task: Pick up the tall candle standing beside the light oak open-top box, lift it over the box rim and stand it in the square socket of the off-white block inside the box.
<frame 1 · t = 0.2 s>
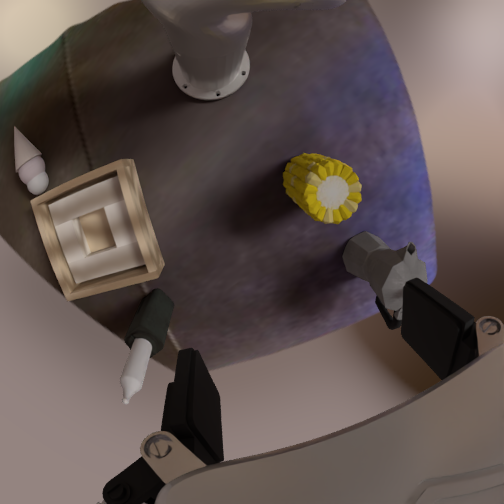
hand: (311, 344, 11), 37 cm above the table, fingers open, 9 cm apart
food: (305, 181, 46), on the table
ice cream cone: (36, 158, 38), on the table
coffeepot: (361, 258, 52), on the table
box: (101, 228, 44), on the table
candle: (158, 302, 49), on the table
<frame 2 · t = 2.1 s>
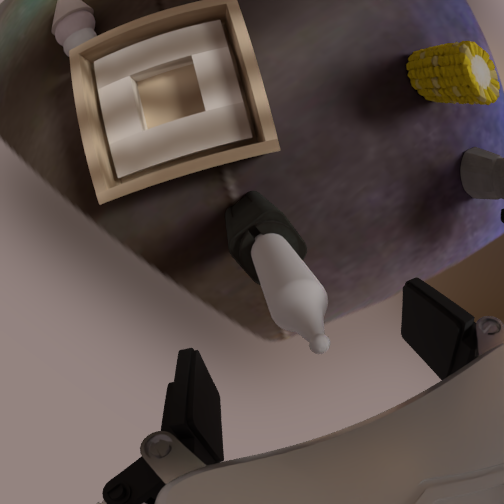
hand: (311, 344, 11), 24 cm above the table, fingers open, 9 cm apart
food: (424, 80, 29), on the table
ice cream cone: (80, 26, 22), on the table
coffeepot: (472, 178, 35), on the table
box: (171, 98, 28), on the table
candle: (250, 216, 34), on the table
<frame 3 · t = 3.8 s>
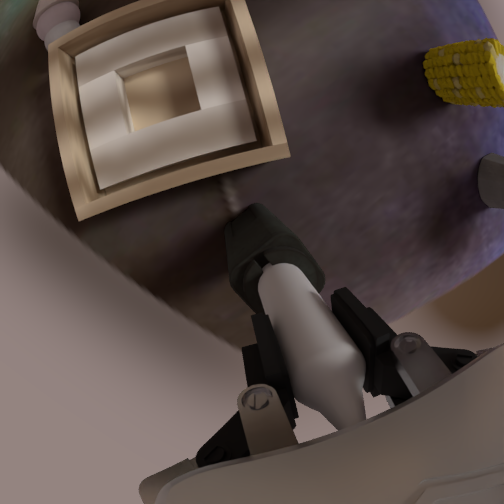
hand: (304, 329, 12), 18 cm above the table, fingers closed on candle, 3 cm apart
food: (441, 80, 26), on the table
ice cream cone: (65, 19, 18), on the table
coffeepot: (489, 186, 31), on the table
box: (162, 96, 24), on the table
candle: (253, 231, 29), on the table, touching gripper
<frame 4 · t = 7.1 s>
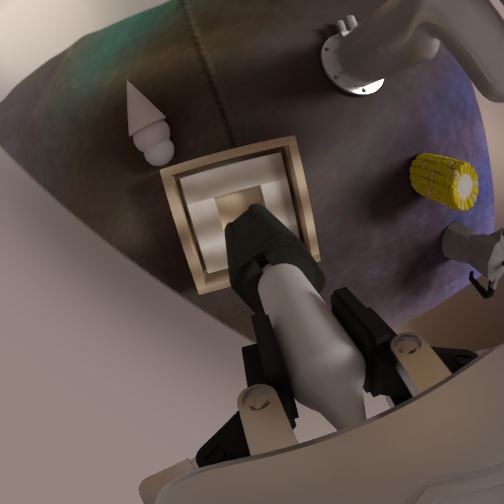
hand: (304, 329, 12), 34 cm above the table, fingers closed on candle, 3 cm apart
food: (421, 176, 46), on the table
ice cream cone: (149, 124, 38), on the table
coffeepot: (452, 244, 52), on the table
box: (241, 210, 44), on the table
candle: (253, 232, 29), point 15 cm above the table, touching gripper
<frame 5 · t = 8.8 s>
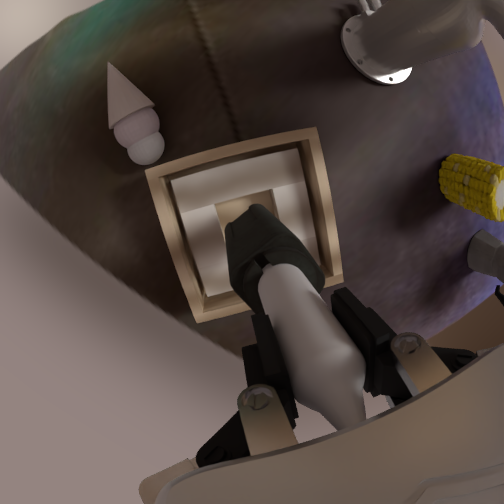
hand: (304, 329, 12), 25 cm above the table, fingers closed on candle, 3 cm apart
food: (450, 180, 38), on the table
ice cream cone: (135, 115, 30), on the table
coffeepot: (476, 254, 44), on the table
box: (247, 218, 36), on the table
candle: (253, 232, 29), point 7 cm above the table, touching gripper
when the fingers open (20 cm above the table, at t = 10.3 s): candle drops 1 cm, resting on box.
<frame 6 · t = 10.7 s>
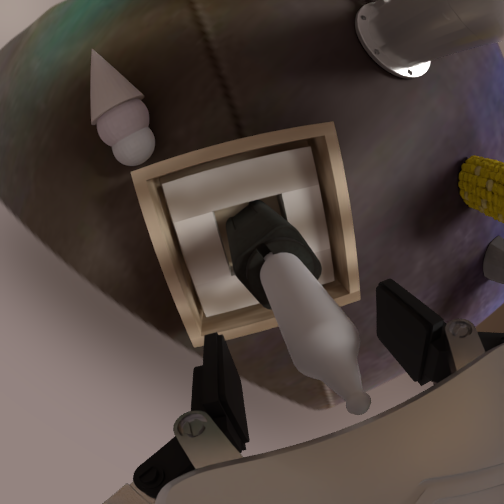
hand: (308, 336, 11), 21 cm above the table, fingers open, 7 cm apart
food: (469, 184, 33), on the table
ice cream cone: (123, 108, 25), on the table
coffeepot: (492, 262, 39), on the table
box: (251, 227, 31), on the table
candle: (253, 226, 31), resting on box
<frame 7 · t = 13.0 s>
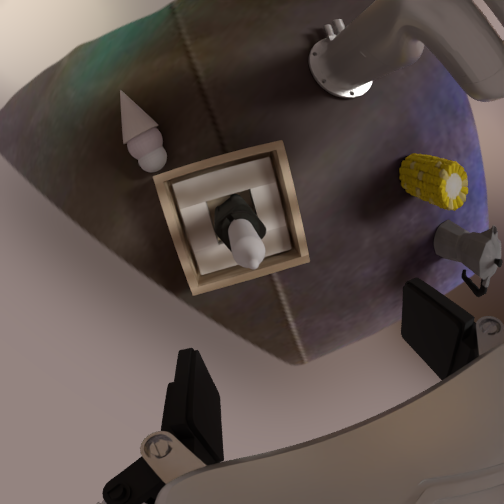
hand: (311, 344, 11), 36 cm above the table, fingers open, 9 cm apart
food: (412, 176, 47), on the table
ice cream cone: (143, 132, 40), on the table
coffeepot: (444, 243, 53), on the table
box: (232, 213, 45), on the table
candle: (233, 212, 45), resting on box
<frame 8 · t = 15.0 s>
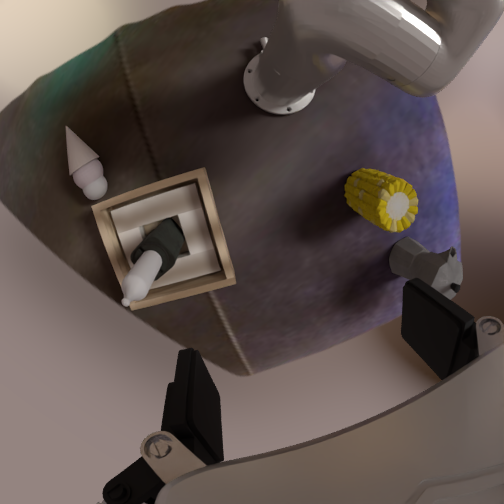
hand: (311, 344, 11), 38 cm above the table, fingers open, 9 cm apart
food: (361, 193, 49), on the table
ice cream cone: (89, 161, 41), on the table
coffeepot: (403, 260, 55), on the table
box: (167, 235, 47), on the table
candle: (168, 234, 47), resting on box
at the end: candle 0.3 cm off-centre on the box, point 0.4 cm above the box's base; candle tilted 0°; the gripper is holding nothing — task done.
